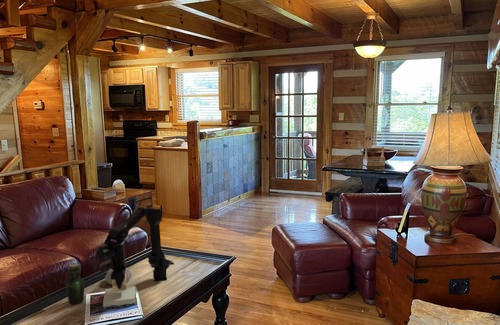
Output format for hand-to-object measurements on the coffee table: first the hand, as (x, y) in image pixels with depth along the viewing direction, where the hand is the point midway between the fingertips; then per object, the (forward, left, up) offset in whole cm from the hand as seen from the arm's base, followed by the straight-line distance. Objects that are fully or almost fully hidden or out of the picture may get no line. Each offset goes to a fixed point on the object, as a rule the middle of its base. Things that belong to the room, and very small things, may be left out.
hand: (119, 285), depth 187 cm
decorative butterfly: (-22, -40, -8) cm, 46 cm away
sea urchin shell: (+2, -23, -7) cm, 24 cm away
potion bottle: (+20, -4, -7) cm, 22 cm away
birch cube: (0, 0, -1) cm, 1 cm away
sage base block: (0, 0, -7) cm, 7 cm away
